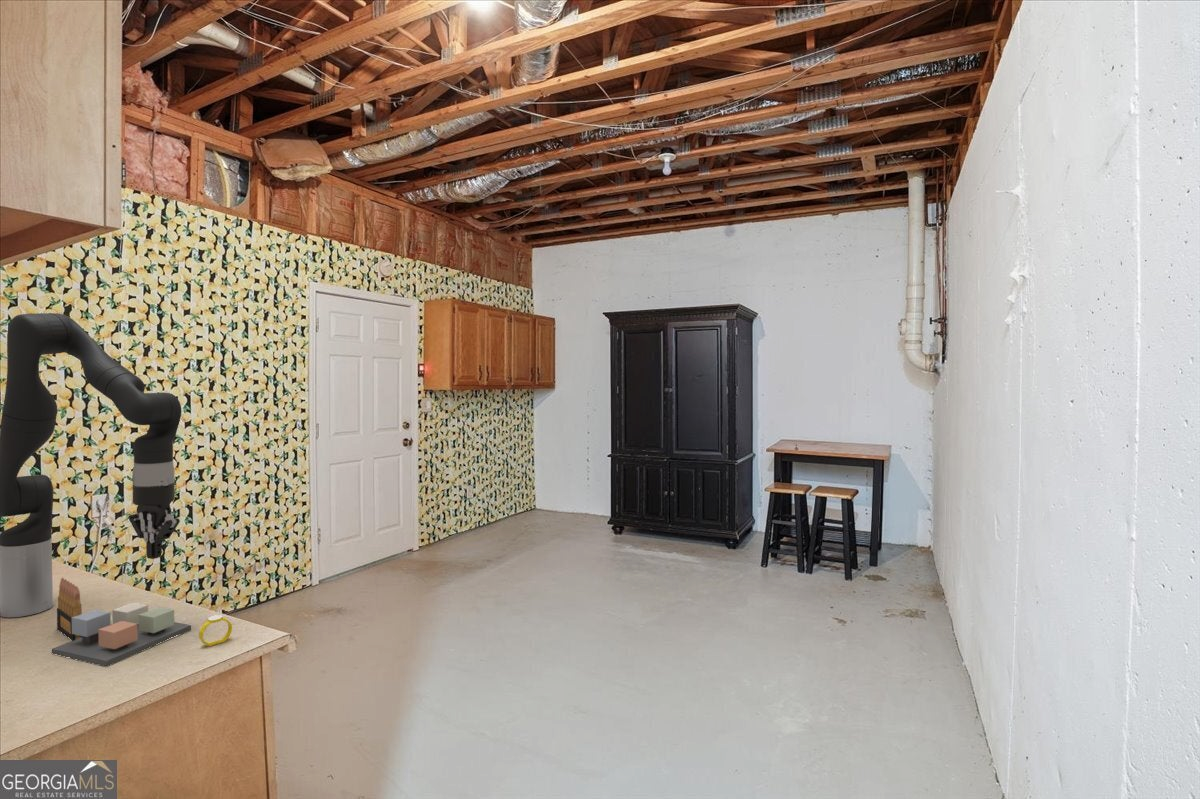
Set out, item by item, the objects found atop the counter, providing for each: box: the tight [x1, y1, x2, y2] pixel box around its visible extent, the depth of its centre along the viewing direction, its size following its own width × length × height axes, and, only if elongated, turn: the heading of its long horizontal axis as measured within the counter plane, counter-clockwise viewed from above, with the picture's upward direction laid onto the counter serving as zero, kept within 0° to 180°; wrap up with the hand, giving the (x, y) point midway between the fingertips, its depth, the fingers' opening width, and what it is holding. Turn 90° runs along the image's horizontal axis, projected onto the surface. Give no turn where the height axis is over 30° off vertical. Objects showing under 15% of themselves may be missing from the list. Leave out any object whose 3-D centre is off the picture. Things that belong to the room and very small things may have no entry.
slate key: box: [72, 609, 112, 637], centre depth 127 cm, size 5×5×4 cm
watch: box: [198, 614, 233, 647], centre depth 130 cm, size 6×3×6 cm, turn 139°
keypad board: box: [51, 621, 192, 667], centre depth 130 cm, size 16×18×4 cm
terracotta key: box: [98, 621, 138, 649], centre depth 125 cm, size 5×5×4 cm
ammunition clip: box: [56, 577, 83, 641], centre depth 133 cm, size 11×2×12 cm, turn 57°
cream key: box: [111, 602, 149, 624], centre depth 135 cm, size 5×5×4 cm
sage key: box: [138, 606, 175, 633], centre depth 132 cm, size 5×5×4 cm
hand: (154, 557), depth 133 cm, fingers closed
